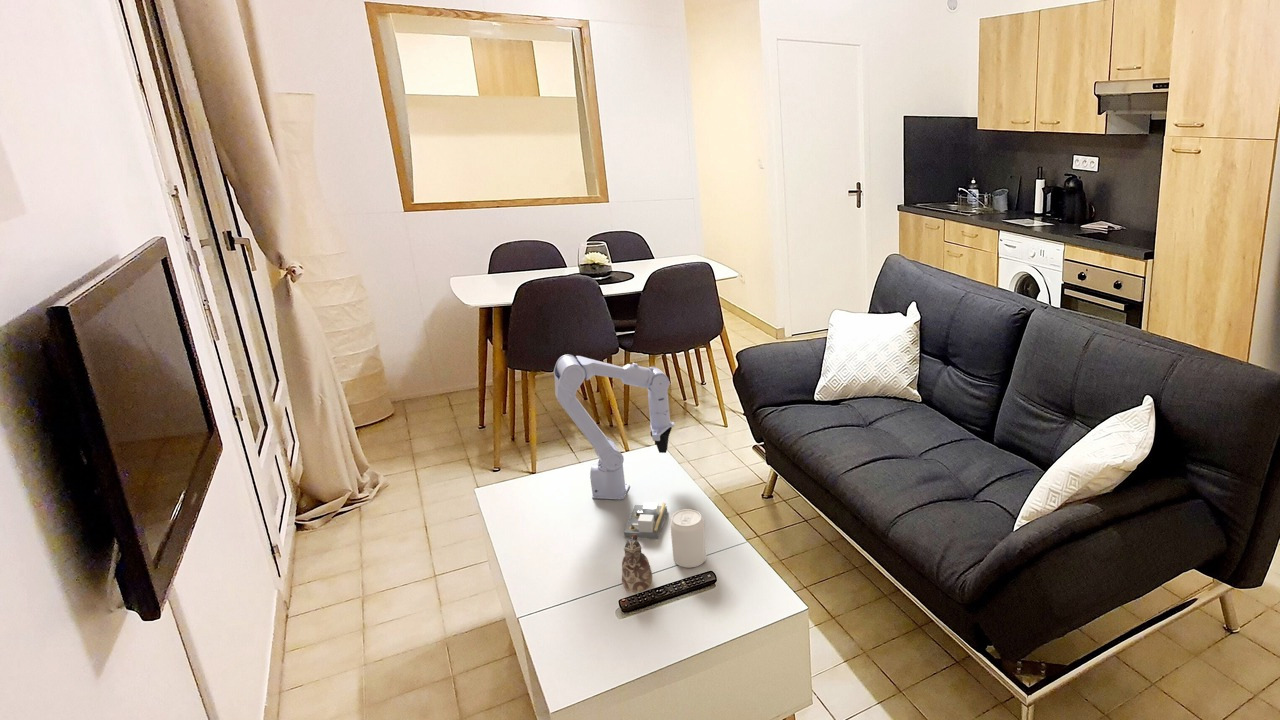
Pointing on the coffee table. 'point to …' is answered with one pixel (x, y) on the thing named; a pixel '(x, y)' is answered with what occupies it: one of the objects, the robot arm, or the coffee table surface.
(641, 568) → the figurine
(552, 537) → the coffee table surface
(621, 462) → the robot arm
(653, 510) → the sliding leg
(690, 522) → the beverage can
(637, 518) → the board
